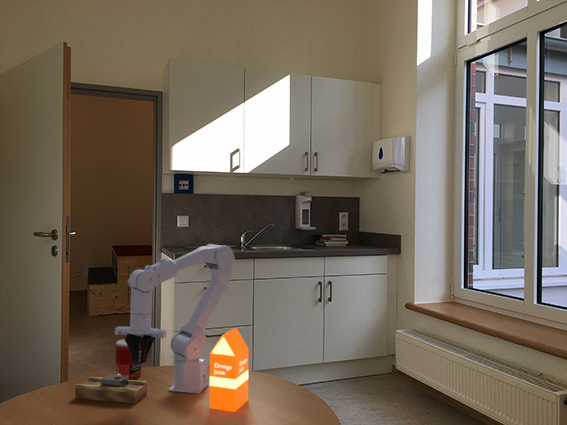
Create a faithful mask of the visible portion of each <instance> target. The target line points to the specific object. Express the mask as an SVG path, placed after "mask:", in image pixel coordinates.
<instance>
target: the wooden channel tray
mask: <svg viewBox="0 0 567 425" xmlns="http://www.w3.org/2000/svg"><path fill="white" fill-rule="evenodd" d="M102 378H103V377H99V376H88V379H87V380H86V381H84V382H83V383H76V384H75V387H74V388H75V389H74V392H75V393H74V396H75V398H74V399H79V400H89V401H90V400H91V401H98V402H110V401H111V402H110V403H121V402H125V403H124V404H132V403H133V405H135V404H136V403H137V401H138V402H139V401H140V400H142V399H143V398H144V397H145V396H147V395H148V390H147V389H148V381H147V380H135V379H130V380H129V384H128V385H127V386H125V387H124V388H121V387H109V386H101V379H102ZM146 394H147V395H146ZM141 398H142V399H141Z"/></svg>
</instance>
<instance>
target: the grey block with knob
mask: <svg viewBox="0 0 567 425" xmlns="http://www.w3.org/2000/svg"><path fill="white" fill-rule="evenodd" d="M101 378H102V379H101V386H109V387H121V388H124V387H125V386H127V385H128V384H129V375H121V374H116V373H108V374H106V375H105V376H103V377H101Z"/></svg>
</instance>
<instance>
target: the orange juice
mask: <svg viewBox="0 0 567 425" xmlns="http://www.w3.org/2000/svg"><path fill="white" fill-rule="evenodd" d="M247 401H249V347H248V346H247V344H246V341H245V340H244V338H243V337H242V336H241V333H240V332H239V330H238V329H237V327H234V328H232V329H231V330H229V331H227V332H225V333H223V334H222V335H221V336H220V338H219V339H218V341H217V342H216V344H215V346H214V347H213V349H212V350H211V351H210V353H209V409H214V410H219V411H220V410H221V411H226V412H234V413H235V412H236V411H238V410H239V409H240V408H242V406H244V405H245V404H246V403H247Z"/></svg>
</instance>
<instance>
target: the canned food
mask: <svg viewBox="0 0 567 425" xmlns="http://www.w3.org/2000/svg"><path fill="white" fill-rule="evenodd" d="M115 374H121V375H129V379H130V380H135V379H138V378H139V377H141V375H142V363H141V348H140V345H139V359H138V361H137V362H135V363H133V361H132V356H131V353H130V350H129V347H128V345H127V343H126V342H125V338H123V339H118V340H117V341H116V342H115Z"/></svg>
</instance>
